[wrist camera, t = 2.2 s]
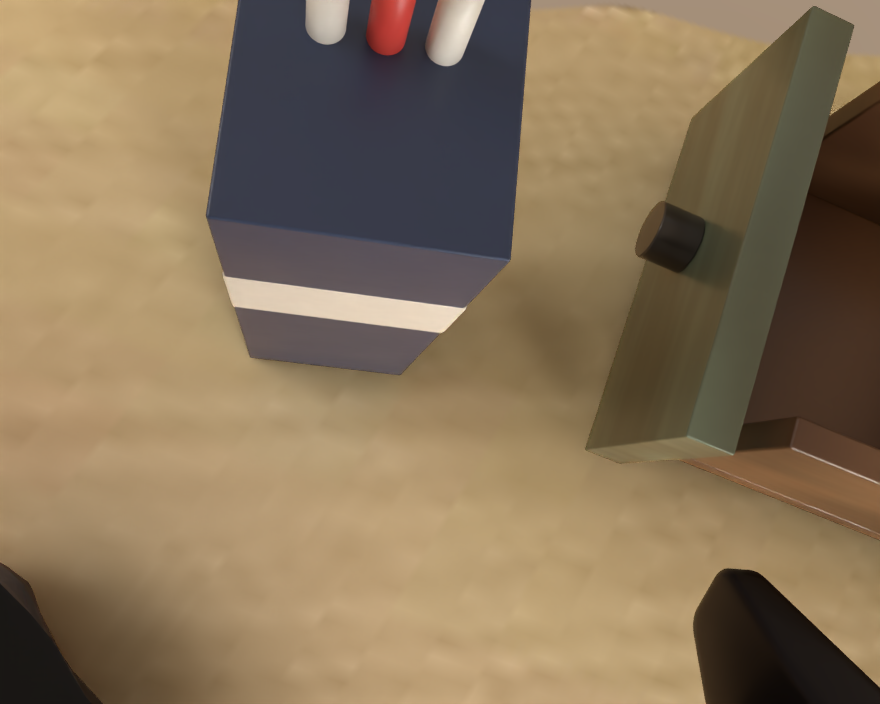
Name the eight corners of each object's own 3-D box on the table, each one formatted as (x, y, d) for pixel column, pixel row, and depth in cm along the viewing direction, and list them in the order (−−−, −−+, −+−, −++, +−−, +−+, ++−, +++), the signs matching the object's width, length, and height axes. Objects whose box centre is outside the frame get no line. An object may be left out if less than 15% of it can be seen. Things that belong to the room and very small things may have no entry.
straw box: (401, 376, 24) (567, 209, 10) (248, 358, 23) (178, 148, 9) (416, 232, 25) (588, -120, 10) (268, 211, 24) (235, -199, 10)
